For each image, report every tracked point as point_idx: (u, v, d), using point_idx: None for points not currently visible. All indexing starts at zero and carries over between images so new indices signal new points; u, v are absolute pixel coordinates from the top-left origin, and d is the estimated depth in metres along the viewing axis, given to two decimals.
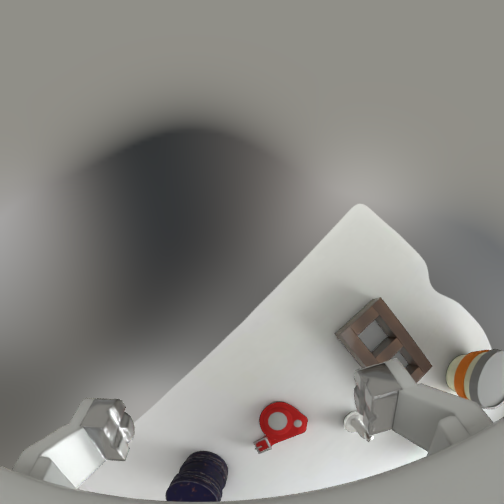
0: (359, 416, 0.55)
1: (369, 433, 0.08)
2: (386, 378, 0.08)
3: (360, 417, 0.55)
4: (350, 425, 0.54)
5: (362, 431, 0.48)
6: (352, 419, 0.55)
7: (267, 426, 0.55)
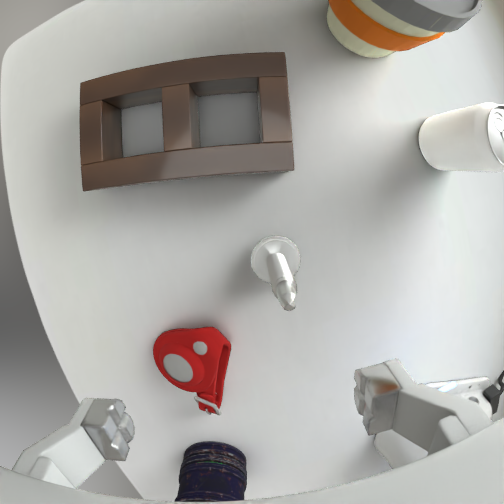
0: (270, 246, 0.30)
1: (369, 433, 0.08)
2: (386, 378, 0.08)
3: (273, 246, 0.30)
4: None
5: None
6: (265, 262, 0.30)
7: (179, 383, 0.33)
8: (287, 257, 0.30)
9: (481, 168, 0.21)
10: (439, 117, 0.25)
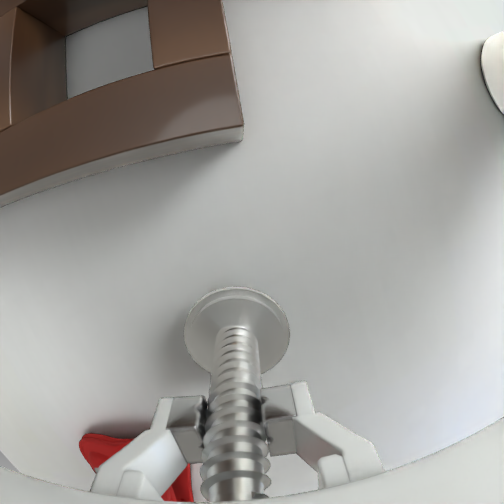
0: (218, 314, 0.13)
1: (271, 454, 0.08)
2: (284, 401, 0.08)
3: (226, 313, 0.13)
4: None
5: None
6: (213, 345, 0.14)
7: None
8: (259, 331, 0.13)
9: None
10: None
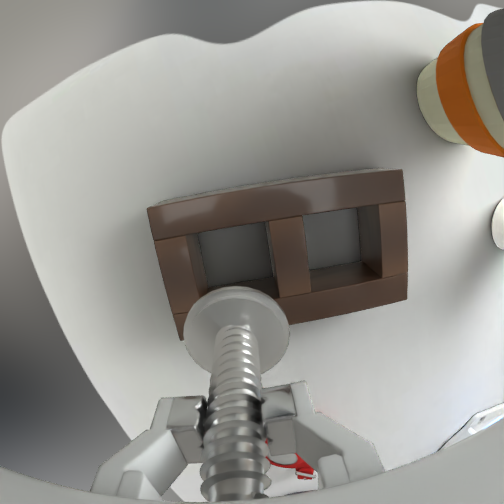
0: (217, 314, 0.13)
1: (271, 454, 0.08)
2: (284, 401, 0.08)
3: (225, 312, 0.13)
4: None
5: None
6: (213, 345, 0.14)
7: (281, 465, 0.33)
8: (259, 331, 0.13)
9: None
10: None
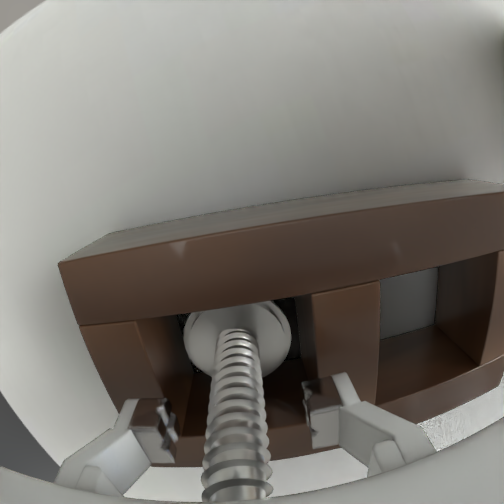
0: (218, 317, 0.13)
1: (313, 447, 0.08)
2: (329, 393, 0.08)
3: (226, 316, 0.13)
4: None
5: (208, 486, 0.06)
6: (213, 348, 0.13)
7: None
8: (260, 335, 0.13)
9: None
10: None
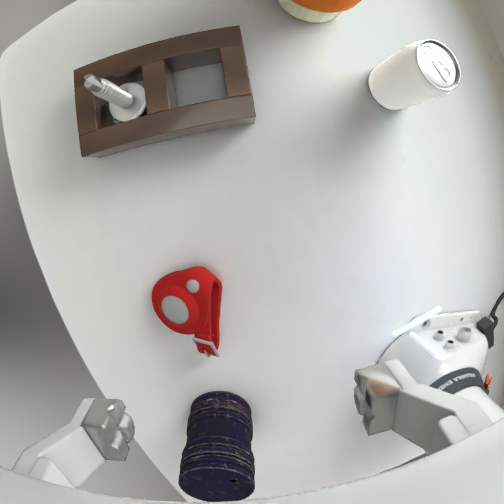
0: None
1: (369, 433, 0.08)
2: (386, 378, 0.08)
3: (123, 90, 0.30)
4: (125, 110, 0.31)
5: None
6: None
7: (177, 326, 0.38)
8: (134, 96, 0.31)
9: (421, 96, 0.25)
10: (382, 62, 0.29)
